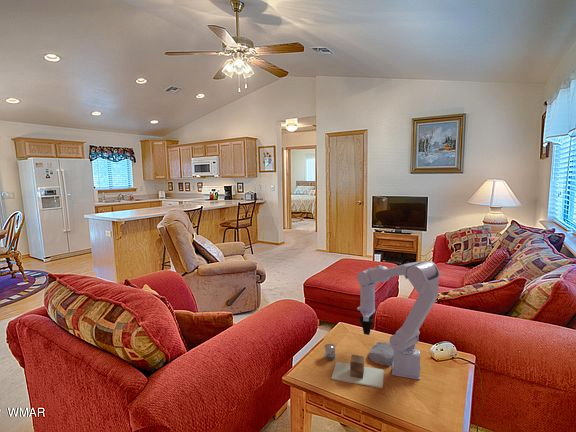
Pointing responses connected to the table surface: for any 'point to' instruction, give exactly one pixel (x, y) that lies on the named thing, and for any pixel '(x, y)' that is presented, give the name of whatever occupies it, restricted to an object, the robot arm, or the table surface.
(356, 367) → the walnut block
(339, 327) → the table surface
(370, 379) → the sage mat
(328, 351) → the steel cylinder
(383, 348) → the stone block
